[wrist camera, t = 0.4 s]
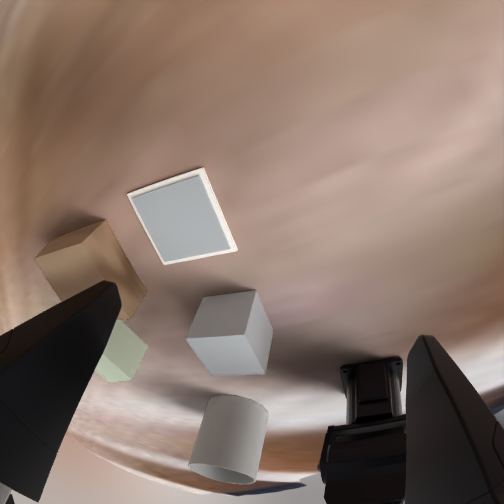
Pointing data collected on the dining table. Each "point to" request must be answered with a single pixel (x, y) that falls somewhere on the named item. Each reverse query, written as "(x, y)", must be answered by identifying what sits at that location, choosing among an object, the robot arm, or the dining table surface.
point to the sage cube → (121, 354)
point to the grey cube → (232, 334)
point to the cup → (230, 440)
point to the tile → (183, 218)
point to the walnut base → (90, 265)
